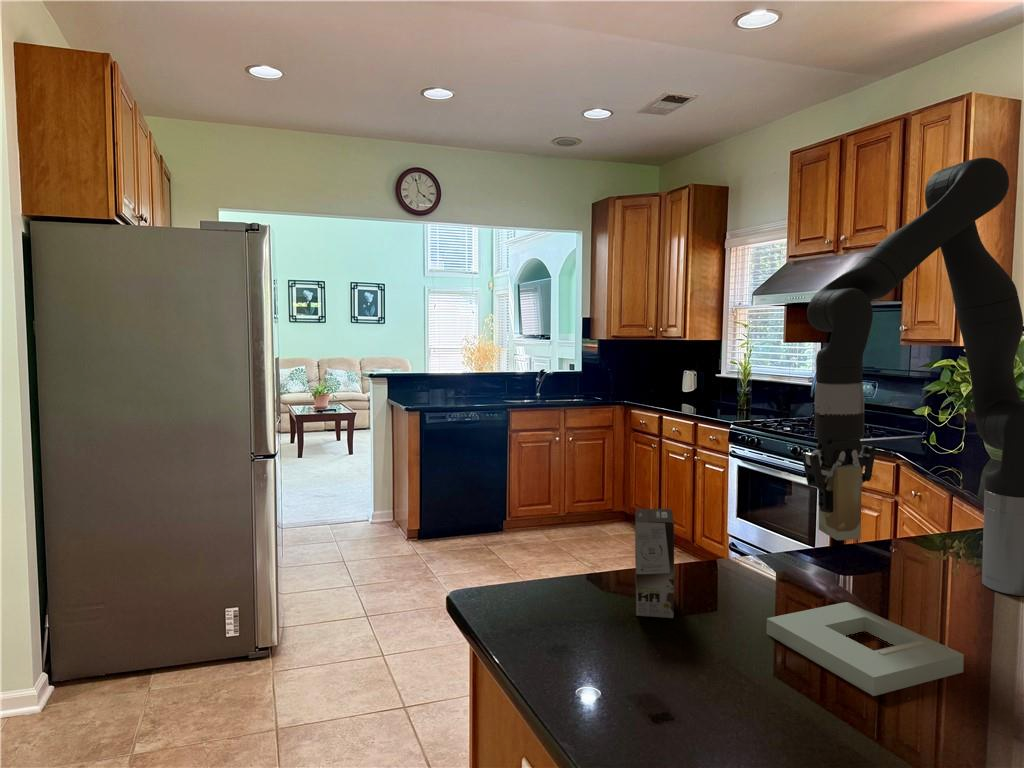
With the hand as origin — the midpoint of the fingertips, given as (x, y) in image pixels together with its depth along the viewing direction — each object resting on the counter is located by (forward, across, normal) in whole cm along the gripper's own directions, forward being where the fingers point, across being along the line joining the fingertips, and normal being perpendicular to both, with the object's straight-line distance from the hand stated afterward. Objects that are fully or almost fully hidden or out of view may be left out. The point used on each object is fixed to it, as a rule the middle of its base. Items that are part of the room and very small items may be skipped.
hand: (839, 509), depth 119 cm
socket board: (+16, +11, +15) cm, 25 cm away
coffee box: (+16, +29, -11) cm, 35 cm away
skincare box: (+5, 0, 0) cm, 5 cm away
